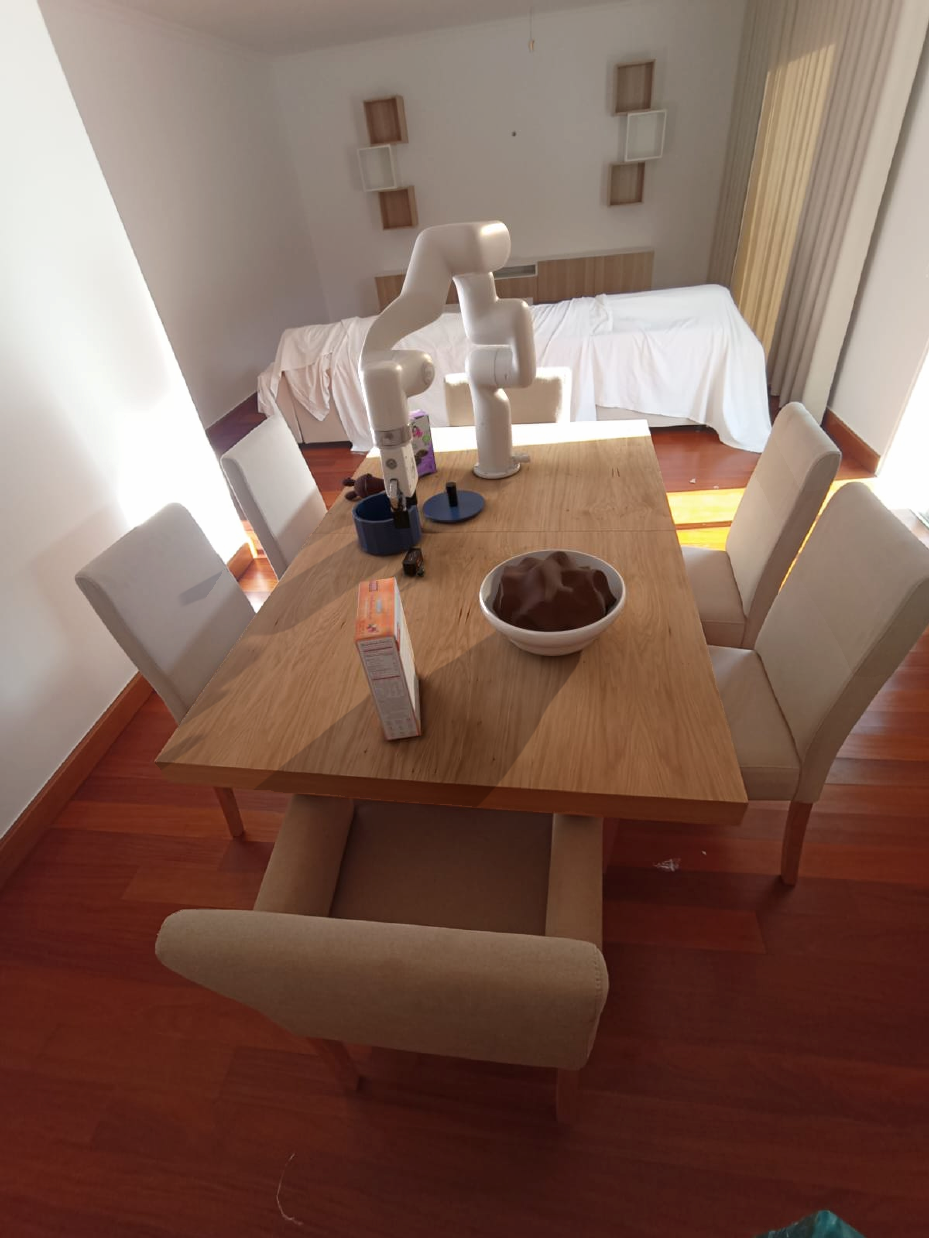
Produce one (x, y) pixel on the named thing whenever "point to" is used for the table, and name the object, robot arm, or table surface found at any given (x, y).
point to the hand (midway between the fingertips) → (406, 516)
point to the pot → (384, 526)
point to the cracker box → (388, 658)
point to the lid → (453, 505)
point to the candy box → (422, 443)
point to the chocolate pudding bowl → (552, 600)
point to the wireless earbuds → (413, 562)
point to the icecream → (363, 486)
